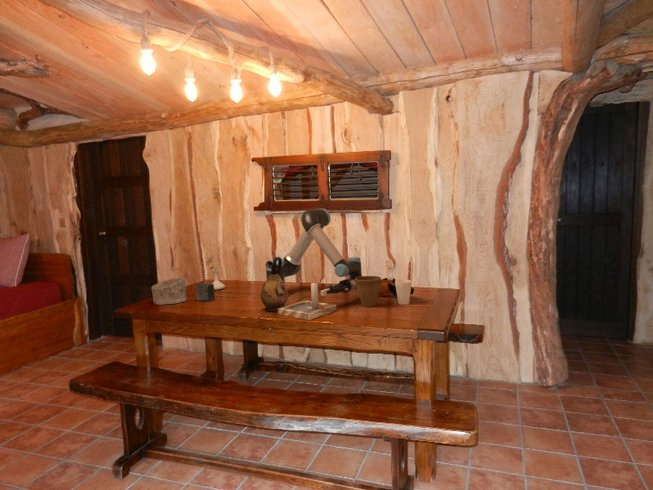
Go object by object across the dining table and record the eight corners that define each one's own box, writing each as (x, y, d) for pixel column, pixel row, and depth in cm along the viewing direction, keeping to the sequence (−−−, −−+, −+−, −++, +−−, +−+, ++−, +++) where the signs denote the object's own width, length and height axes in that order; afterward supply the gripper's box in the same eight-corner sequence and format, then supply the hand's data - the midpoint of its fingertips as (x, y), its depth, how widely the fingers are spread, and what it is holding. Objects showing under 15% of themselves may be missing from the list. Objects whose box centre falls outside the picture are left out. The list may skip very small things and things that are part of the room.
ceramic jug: (277, 313, 246) (274, 259, 243) (256, 310, 254) (253, 258, 251) (295, 306, 260) (293, 255, 257) (274, 304, 268) (272, 254, 265)
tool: (403, 312, 267) (411, 290, 262) (372, 294, 278) (379, 272, 273) (409, 308, 273) (417, 287, 268) (378, 291, 285) (385, 270, 280)
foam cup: (413, 301, 262) (412, 279, 260) (410, 305, 253) (410, 282, 252) (396, 300, 265) (396, 279, 263) (394, 304, 256) (393, 282, 255)
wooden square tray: (277, 314, 245) (277, 305, 244) (305, 305, 263) (304, 296, 262) (309, 320, 231) (309, 310, 230) (336, 310, 249) (336, 301, 248)
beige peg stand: (286, 313, 244) (285, 284, 243) (304, 306, 258) (302, 279, 256) (310, 316, 236) (309, 286, 234) (327, 309, 249) (326, 281, 247)
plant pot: (383, 302, 263) (382, 275, 261) (380, 308, 248) (379, 280, 247) (357, 301, 266) (357, 275, 264) (353, 308, 252) (352, 280, 250)
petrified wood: (148, 304, 279) (146, 281, 278) (167, 298, 295) (165, 276, 294) (173, 306, 273) (171, 282, 271) (191, 299, 289) (189, 276, 287)
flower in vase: (217, 287, 327) (215, 253, 324) (228, 288, 320) (226, 254, 318) (203, 290, 317) (201, 255, 314) (214, 292, 310) (211, 256, 307)
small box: (215, 299, 287) (214, 283, 286) (208, 301, 281) (207, 285, 280) (202, 298, 291) (201, 282, 290) (195, 300, 285) (194, 284, 284)
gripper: (356, 292, 262) (331, 301, 243) (338, 290, 270) (313, 298, 252) (355, 280, 261) (330, 287, 243) (337, 278, 269) (312, 285, 251)
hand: (321, 293), depth 247 cm, fingers closed
